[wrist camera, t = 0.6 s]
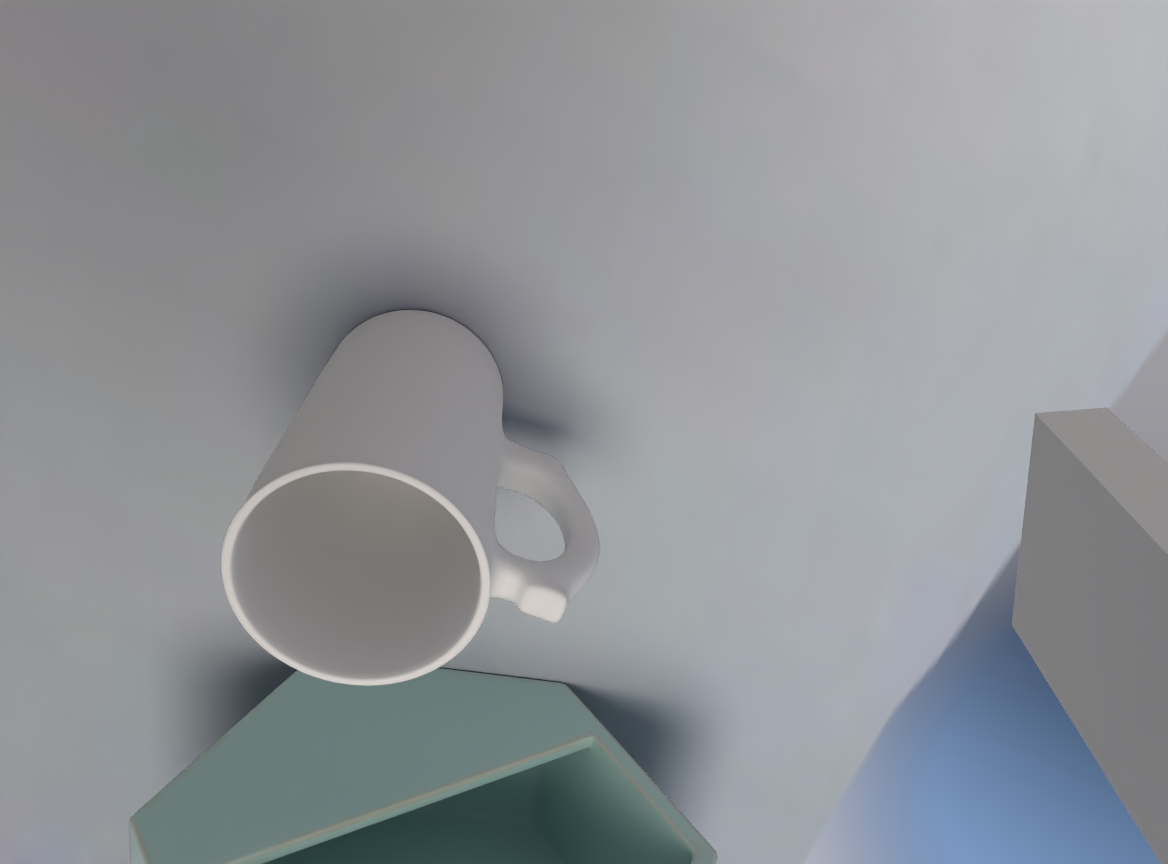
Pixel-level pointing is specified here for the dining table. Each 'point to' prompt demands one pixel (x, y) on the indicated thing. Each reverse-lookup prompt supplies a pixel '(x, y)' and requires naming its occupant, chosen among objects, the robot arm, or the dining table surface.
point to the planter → (416, 782)
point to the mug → (396, 511)
